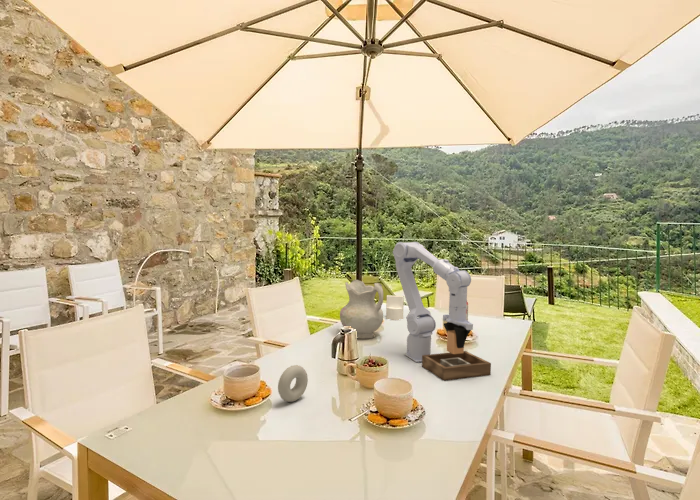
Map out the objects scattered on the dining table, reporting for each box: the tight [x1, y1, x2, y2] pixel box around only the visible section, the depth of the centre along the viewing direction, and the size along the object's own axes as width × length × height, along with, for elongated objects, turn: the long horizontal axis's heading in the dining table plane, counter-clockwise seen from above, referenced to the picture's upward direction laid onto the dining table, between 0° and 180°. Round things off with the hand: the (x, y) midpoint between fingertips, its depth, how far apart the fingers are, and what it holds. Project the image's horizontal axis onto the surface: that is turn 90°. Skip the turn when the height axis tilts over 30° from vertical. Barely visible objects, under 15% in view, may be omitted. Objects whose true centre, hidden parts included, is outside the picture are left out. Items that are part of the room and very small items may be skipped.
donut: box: [277, 364, 309, 403], centre depth 115 cm, size 10×4×10 cm, turn 140°
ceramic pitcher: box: [339, 279, 384, 340], centre depth 183 cm, size 22×20×25 cm
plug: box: [446, 330, 465, 354], centre depth 141 cm, size 4×4×7 cm
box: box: [421, 350, 492, 382], centre depth 142 cm, size 14×18×4 cm
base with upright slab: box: [385, 294, 405, 321], centre depth 219 cm, size 9×9×12 cm
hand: (456, 345), depth 141 cm, fingers closed on plug, 4 cm apart
